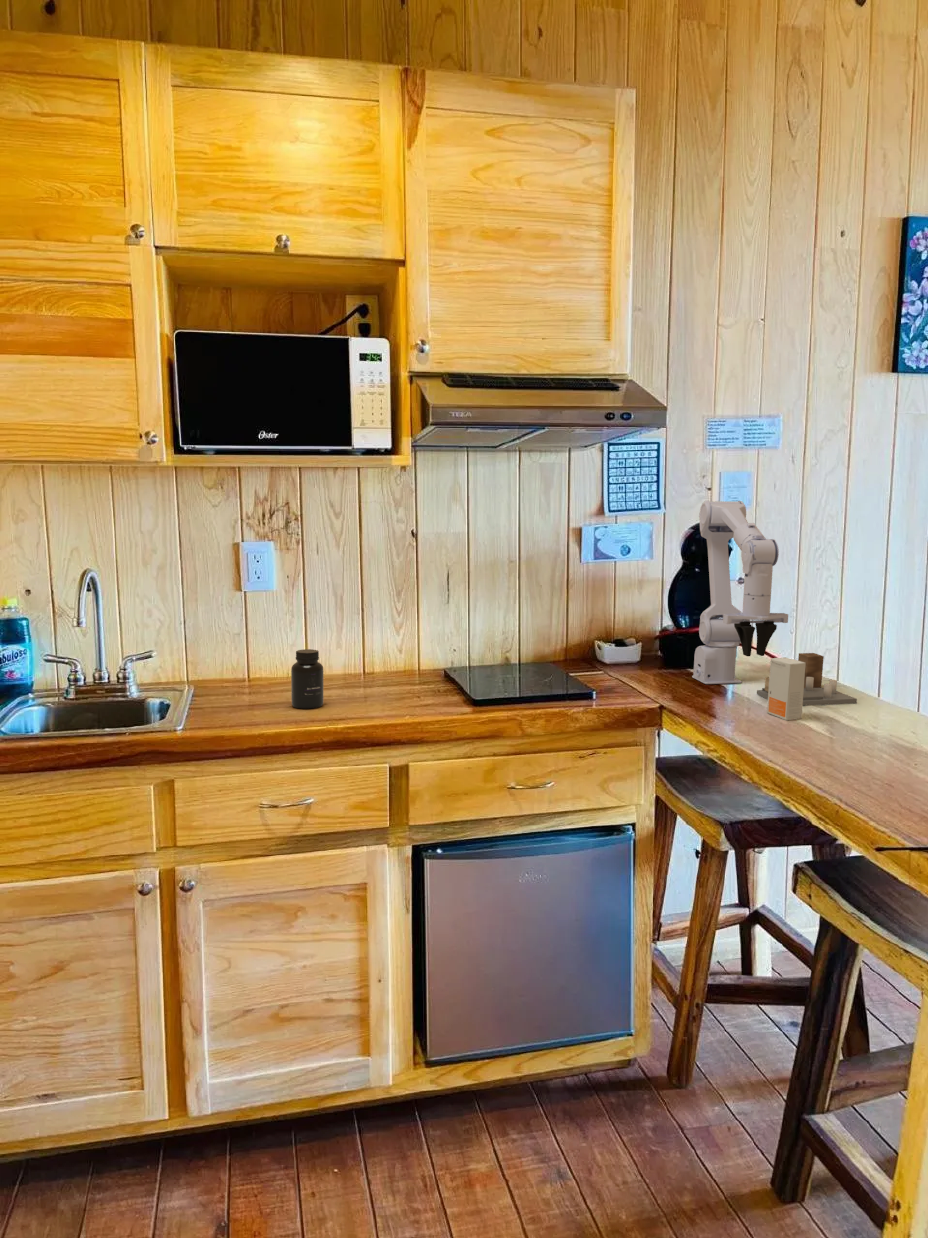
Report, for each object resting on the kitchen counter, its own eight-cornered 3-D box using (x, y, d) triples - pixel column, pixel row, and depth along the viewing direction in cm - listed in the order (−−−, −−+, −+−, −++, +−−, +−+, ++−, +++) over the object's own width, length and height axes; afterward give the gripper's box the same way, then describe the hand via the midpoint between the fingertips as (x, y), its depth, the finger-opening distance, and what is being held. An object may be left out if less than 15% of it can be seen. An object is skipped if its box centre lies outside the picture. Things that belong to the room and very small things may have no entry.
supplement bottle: (313, 711, 182) (312, 655, 180) (285, 707, 185) (284, 652, 183) (329, 703, 189) (328, 649, 187) (302, 700, 191) (301, 647, 189)
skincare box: (765, 713, 183) (769, 658, 181) (781, 711, 185) (785, 656, 183) (786, 721, 177) (790, 663, 176) (802, 719, 179) (806, 662, 177)
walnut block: (805, 689, 205) (808, 656, 203) (796, 685, 208) (798, 653, 207) (821, 689, 205) (823, 656, 204) (811, 685, 209) (813, 652, 208)
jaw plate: (783, 698, 190) (784, 685, 190) (764, 690, 198) (765, 677, 198) (788, 698, 191) (789, 685, 190) (769, 690, 198) (770, 677, 198)
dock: (782, 706, 189) (783, 688, 188) (756, 694, 200) (757, 677, 199) (856, 703, 192) (857, 685, 192) (827, 691, 203) (828, 674, 202)
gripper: (735, 597, 185) (731, 659, 187) (797, 596, 187) (793, 657, 189) (719, 593, 191) (716, 653, 194) (780, 592, 194) (776, 651, 196)
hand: (753, 655), depth 192 cm, fingers open, 3 cm apart
